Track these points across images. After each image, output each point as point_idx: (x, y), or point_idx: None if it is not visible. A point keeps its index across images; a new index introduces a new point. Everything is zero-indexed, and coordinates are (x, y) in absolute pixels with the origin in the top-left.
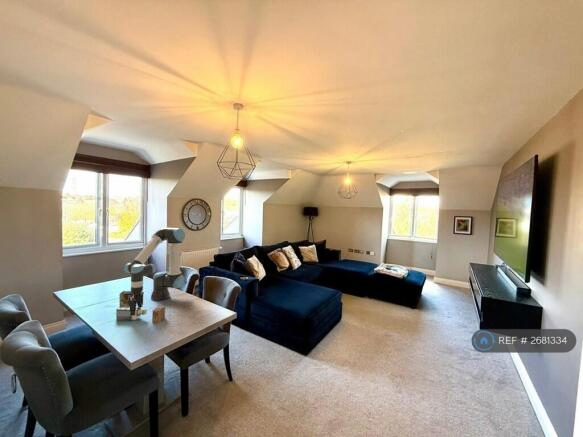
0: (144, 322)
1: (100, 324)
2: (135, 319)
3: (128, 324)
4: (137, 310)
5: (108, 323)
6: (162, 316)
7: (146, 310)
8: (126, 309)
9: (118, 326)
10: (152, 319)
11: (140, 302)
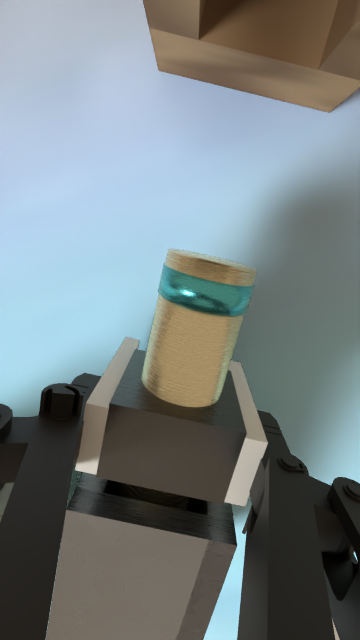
0: (291, 234)
1: (236, 620)
2: (240, 366)
3: (301, 404)
4: (219, 419)
5: (228, 575)
6: None
7: (181, 254)
8: (210, 604)
9: (325, 480)
10: (352, 91)
11: (50, 505)
